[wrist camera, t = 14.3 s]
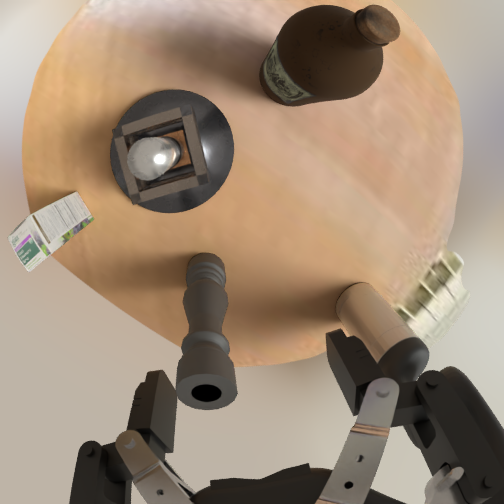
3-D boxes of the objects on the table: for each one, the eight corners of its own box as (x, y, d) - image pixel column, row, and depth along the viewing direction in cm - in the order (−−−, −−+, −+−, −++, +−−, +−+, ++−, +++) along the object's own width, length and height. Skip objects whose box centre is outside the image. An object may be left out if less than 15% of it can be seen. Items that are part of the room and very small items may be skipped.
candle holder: (181, 277, 45) (164, 401, 23) (196, 246, 44) (186, 363, 21) (214, 291, 47) (222, 416, 25) (231, 262, 46) (252, 382, 23)
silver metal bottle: (188, 140, 36) (175, 141, 23) (180, 169, 37) (163, 186, 24) (159, 133, 35) (132, 131, 22) (151, 162, 36) (121, 176, 23)
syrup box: (72, 236, 40) (29, 276, 27) (54, 207, 37) (5, 238, 24) (95, 219, 39) (52, 255, 26) (76, 188, 37) (27, 214, 24)
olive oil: (301, 38, 32) (390, -36, 10) (335, 94, 37) (453, 71, 14) (241, 63, 33) (281, -22, 11) (277, 122, 38) (364, 109, 15)
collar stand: (218, 78, 34) (220, 61, 25) (244, 193, 41) (253, 209, 33) (102, 114, 33) (74, 110, 25) (132, 223, 41) (113, 246, 32)
